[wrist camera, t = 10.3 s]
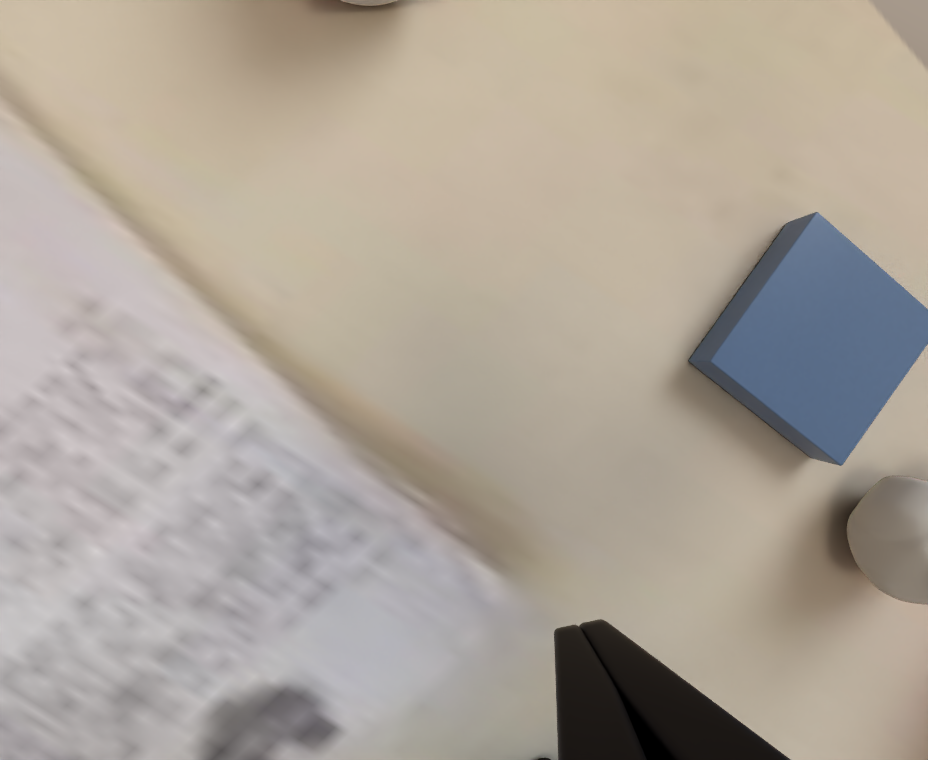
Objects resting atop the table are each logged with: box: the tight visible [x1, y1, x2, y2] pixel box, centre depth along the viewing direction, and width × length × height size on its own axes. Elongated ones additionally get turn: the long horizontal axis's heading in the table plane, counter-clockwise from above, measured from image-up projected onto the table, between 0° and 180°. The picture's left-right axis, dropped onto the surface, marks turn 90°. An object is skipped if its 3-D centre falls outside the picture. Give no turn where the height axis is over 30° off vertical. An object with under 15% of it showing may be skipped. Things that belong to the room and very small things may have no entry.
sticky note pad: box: [689, 212, 928, 466], centre depth 19 cm, size 8×8×2 cm
